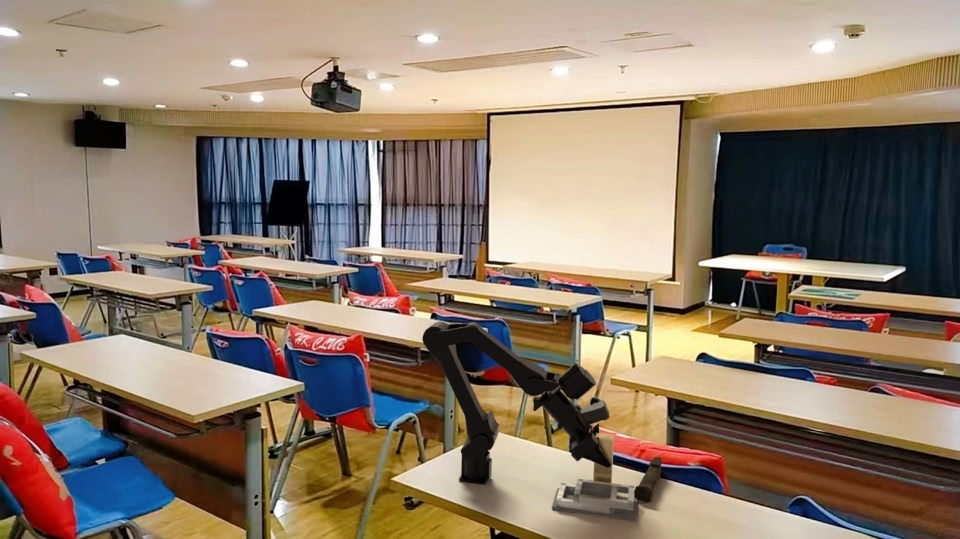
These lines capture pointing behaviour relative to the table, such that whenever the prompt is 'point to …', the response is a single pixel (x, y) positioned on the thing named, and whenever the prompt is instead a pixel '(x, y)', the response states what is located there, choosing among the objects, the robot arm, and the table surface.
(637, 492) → the dark brown rod
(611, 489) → the grey slotted holder
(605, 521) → the table surface
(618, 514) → the mat
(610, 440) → the pin
